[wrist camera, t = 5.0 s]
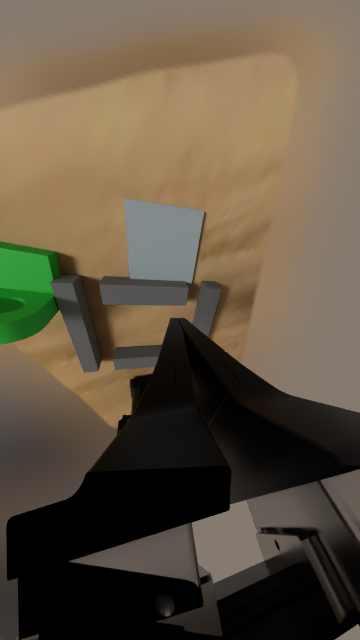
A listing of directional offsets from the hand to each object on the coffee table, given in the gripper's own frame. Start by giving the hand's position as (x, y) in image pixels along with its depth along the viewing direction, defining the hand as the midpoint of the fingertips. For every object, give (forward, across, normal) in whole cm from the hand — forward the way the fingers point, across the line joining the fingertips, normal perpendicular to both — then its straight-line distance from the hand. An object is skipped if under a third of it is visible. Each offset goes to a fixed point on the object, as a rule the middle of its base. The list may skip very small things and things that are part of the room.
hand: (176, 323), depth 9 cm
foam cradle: (+12, +2, +9) cm, 15 cm away
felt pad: (+12, 0, -2) cm, 12 cm away
